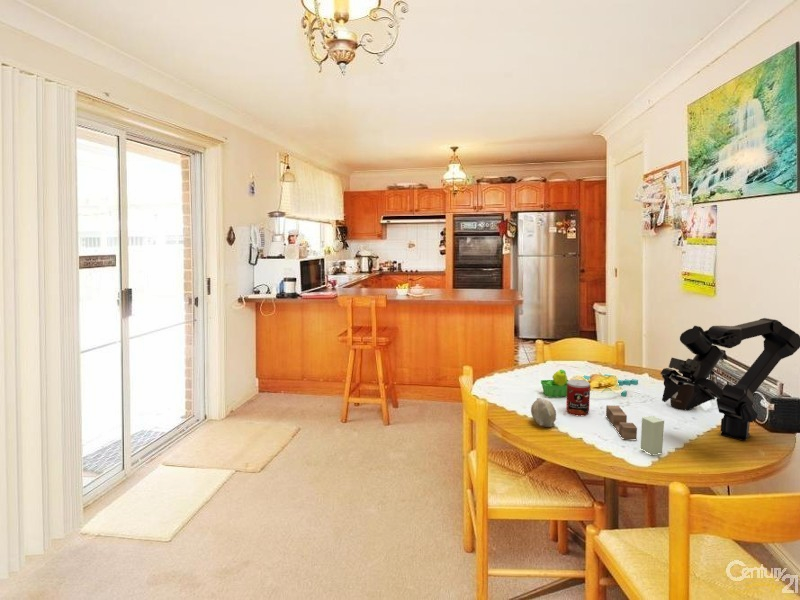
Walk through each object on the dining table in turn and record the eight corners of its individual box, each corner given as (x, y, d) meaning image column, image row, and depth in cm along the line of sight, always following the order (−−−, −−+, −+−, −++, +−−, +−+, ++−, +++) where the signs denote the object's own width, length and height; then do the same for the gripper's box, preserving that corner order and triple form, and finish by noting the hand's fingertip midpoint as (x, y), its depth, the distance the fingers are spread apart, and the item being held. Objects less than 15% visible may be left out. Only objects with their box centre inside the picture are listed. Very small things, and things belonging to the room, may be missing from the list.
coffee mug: (698, 411, 169) (700, 384, 167) (672, 410, 170) (674, 383, 169) (684, 400, 180) (686, 374, 179) (660, 399, 182) (662, 374, 180)
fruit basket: (567, 391, 193) (567, 364, 191) (576, 398, 184) (577, 370, 183) (539, 392, 192) (540, 365, 191) (547, 399, 184) (548, 371, 182)
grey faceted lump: (548, 436, 157) (551, 413, 152) (524, 426, 161) (526, 403, 157) (559, 419, 163) (562, 397, 158) (536, 410, 168) (538, 388, 163)
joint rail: (606, 416, 166) (606, 405, 166) (618, 416, 166) (618, 405, 165) (622, 439, 148) (623, 427, 147) (636, 440, 147) (637, 427, 146)
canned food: (566, 415, 168) (567, 385, 167) (566, 407, 176) (567, 378, 174) (589, 417, 166) (590, 386, 164) (588, 409, 173) (589, 380, 172)
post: (651, 447, 142) (653, 415, 140) (662, 453, 138) (664, 420, 137) (640, 449, 141) (642, 417, 139) (651, 455, 137) (653, 422, 136)
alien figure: (637, 384, 201) (589, 376, 213) (638, 379, 200) (589, 371, 213) (625, 398, 185) (573, 388, 198) (625, 392, 185) (573, 383, 197)
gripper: (662, 342, 150) (634, 382, 149) (710, 352, 131) (679, 398, 130) (687, 362, 152) (659, 402, 151) (737, 375, 133) (706, 420, 132)
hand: (674, 405), depth 141 cm, fingers open, 9 cm apart
